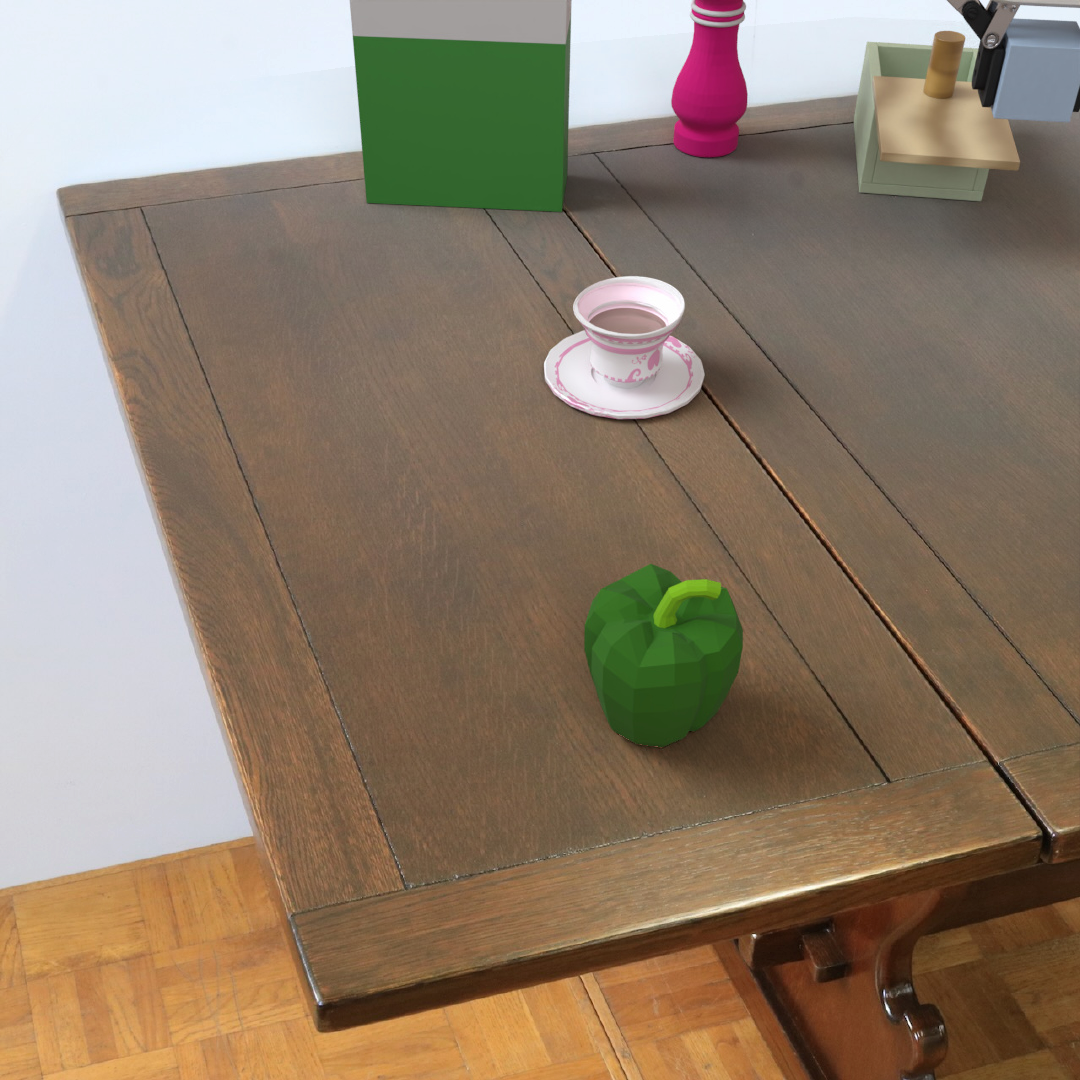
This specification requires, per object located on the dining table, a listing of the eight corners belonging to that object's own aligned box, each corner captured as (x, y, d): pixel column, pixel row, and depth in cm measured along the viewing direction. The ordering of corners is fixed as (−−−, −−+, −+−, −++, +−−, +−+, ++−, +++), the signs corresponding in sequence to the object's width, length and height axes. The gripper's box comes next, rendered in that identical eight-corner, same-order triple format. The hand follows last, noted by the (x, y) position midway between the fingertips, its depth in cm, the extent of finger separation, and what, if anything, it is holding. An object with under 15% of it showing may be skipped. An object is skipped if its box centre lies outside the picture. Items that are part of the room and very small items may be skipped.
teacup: (634, 443, 93) (639, 370, 89) (510, 377, 99) (509, 305, 95) (736, 373, 99) (745, 301, 95) (614, 314, 105) (617, 244, 101)
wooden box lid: (995, 92, 119) (1011, 27, 115) (1018, 171, 107) (1036, 101, 103) (871, 84, 120) (883, 19, 117) (880, 161, 108) (893, 92, 105)
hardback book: (366, 202, 119) (342, -80, 104) (380, 166, 125) (360, -107, 109) (562, 211, 118) (568, -72, 103) (567, 174, 124) (573, -100, 108)
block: (1057, 92, 93) (1076, 21, 90) (1069, 122, 89) (1089, 48, 86) (984, 89, 94) (1001, 17, 90) (993, 118, 90) (1011, 45, 87)
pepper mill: (723, 124, 133) (745, -89, 120) (754, 154, 128) (781, -64, 114) (656, 133, 131) (671, -81, 118) (685, 164, 126) (704, -57, 113)
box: (964, 128, 133) (983, 48, 127) (981, 201, 121) (1002, 117, 115) (853, 120, 134) (866, 41, 128) (858, 192, 122) (874, 108, 117)
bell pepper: (557, 741, 72) (560, 609, 66) (612, 642, 78) (620, 512, 72) (703, 791, 70) (722, 660, 63) (749, 686, 76) (770, 555, 69)
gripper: (1233, -203, 81) (1143, 86, 93) (949, -212, 83) (897, 74, 95) (1267, -172, 76) (1167, 132, 88) (962, -182, 77) (905, 117, 89)
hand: (1027, 99), depth 91 cm, fingers closed on block, 5 cm apart
